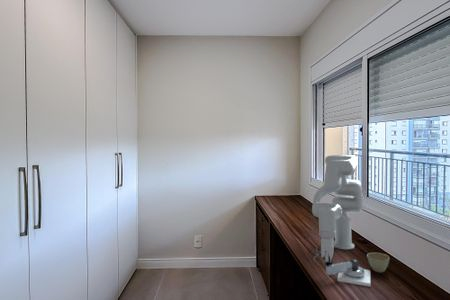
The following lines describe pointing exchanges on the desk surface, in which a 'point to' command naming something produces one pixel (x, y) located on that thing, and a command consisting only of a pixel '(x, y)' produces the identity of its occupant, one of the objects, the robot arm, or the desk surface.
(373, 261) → the flower pot
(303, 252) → the desk surface
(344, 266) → the dial
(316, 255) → the pliers
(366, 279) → the dial plate
